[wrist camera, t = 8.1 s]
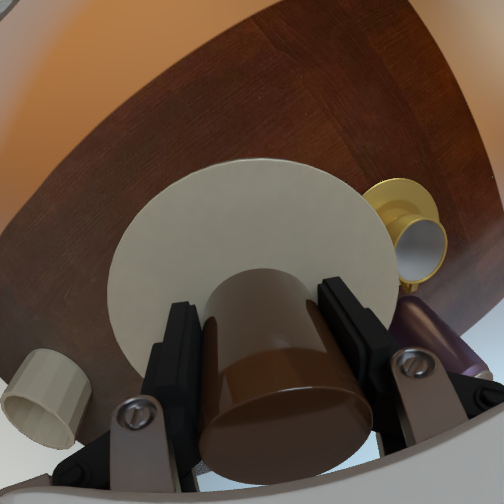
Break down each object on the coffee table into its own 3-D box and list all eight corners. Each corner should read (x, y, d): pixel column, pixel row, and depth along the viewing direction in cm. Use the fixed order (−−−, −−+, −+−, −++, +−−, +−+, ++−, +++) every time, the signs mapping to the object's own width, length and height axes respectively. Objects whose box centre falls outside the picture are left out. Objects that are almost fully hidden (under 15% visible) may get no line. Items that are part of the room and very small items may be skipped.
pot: (28, 386, 34) (6, 426, 26) (25, 336, 31) (-5, 378, 23) (89, 413, 36) (74, 459, 28) (95, 367, 33) (74, 417, 25)
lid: (98, 361, 13) (53, 482, 6) (166, 109, 9) (86, 73, 3) (310, 414, 15) (345, 521, 9) (426, 226, 12) (545, 299, 6)
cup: (336, 185, 28) (360, 196, 23) (436, 172, 29) (469, 181, 24) (344, 297, 33) (363, 324, 28) (434, 273, 33) (460, 294, 28)
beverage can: (371, 319, 34) (436, 410, 20) (408, 283, 33) (488, 360, 19) (395, 343, 36) (454, 425, 22) (428, 310, 35) (499, 383, 21)
